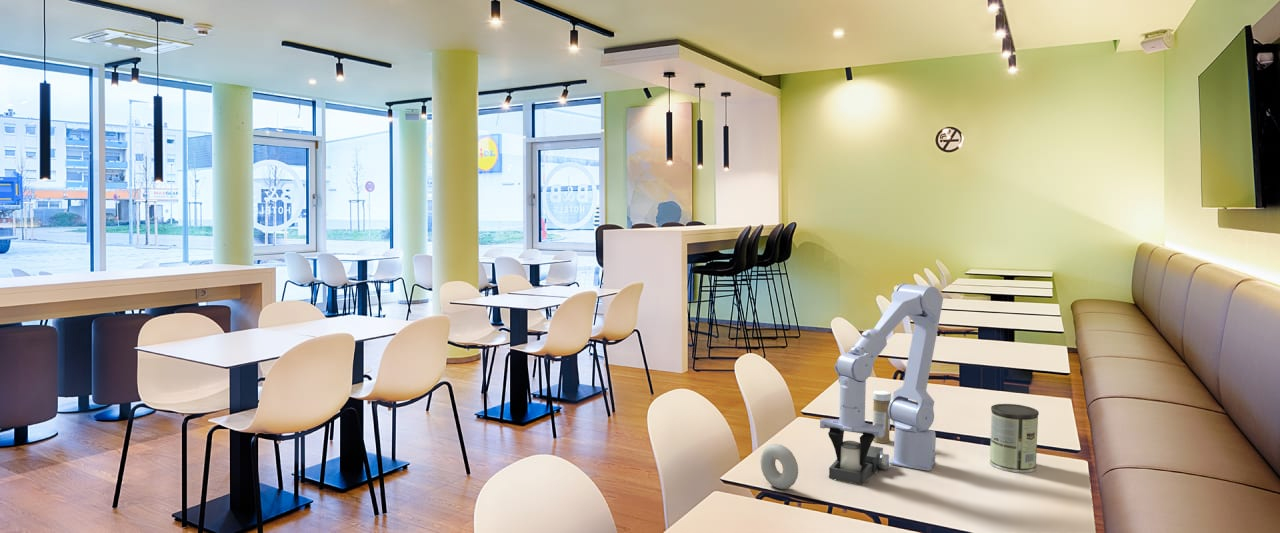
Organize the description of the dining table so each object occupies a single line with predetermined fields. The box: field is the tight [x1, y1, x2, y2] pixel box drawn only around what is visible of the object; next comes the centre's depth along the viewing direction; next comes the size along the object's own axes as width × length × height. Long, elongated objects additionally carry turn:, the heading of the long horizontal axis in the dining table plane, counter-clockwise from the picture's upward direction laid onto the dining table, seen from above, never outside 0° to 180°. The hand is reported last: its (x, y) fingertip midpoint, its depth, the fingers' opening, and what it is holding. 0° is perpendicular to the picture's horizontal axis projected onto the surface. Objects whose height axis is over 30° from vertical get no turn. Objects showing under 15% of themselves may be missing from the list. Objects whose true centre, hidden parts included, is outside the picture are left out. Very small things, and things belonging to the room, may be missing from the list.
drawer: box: [865, 445, 890, 475], centre depth 179 cm, size 11×8×5 cm
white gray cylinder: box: [840, 440, 862, 473], centre depth 172 cm, size 5×5×7 cm
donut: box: [760, 443, 799, 490], centre depth 165 cm, size 10×4×10 cm, turn 38°
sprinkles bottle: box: [872, 390, 892, 444], centre depth 198 cm, size 5×5×14 cm
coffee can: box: [989, 403, 1040, 474], centre depth 179 cm, size 10×10×14 cm
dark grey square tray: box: [828, 459, 873, 485], centre depth 173 cm, size 8×9×2 cm
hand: (851, 462), depth 172 cm, fingers closed on white gray cylinder, 5 cm apart
